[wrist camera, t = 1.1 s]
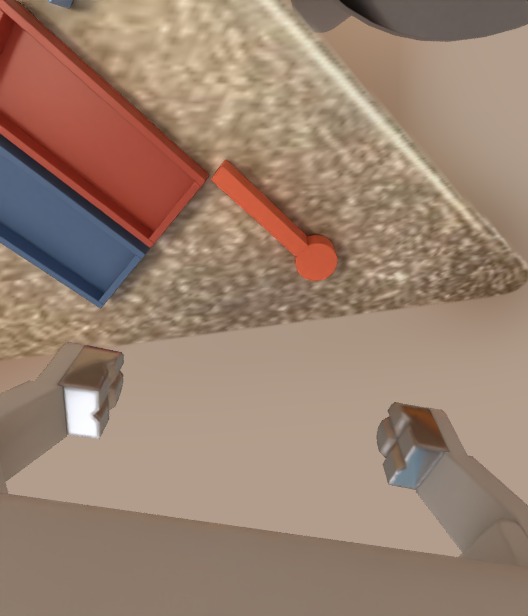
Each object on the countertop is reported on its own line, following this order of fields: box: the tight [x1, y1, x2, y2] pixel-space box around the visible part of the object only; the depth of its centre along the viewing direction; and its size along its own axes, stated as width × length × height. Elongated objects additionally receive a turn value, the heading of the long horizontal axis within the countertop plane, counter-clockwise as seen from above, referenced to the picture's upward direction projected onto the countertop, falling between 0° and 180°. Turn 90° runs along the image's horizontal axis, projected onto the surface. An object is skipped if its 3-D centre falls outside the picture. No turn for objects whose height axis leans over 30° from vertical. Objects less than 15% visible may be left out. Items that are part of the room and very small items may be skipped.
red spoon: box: [211, 160, 337, 281], centre depth 31 cm, size 13×4×2 cm, turn 47°
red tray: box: [0, 0, 209, 248], centre depth 28 cm, size 8×16×2 cm, turn 47°
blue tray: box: [0, 134, 150, 308], centre depth 31 cm, size 8×16×2 cm, turn 47°
